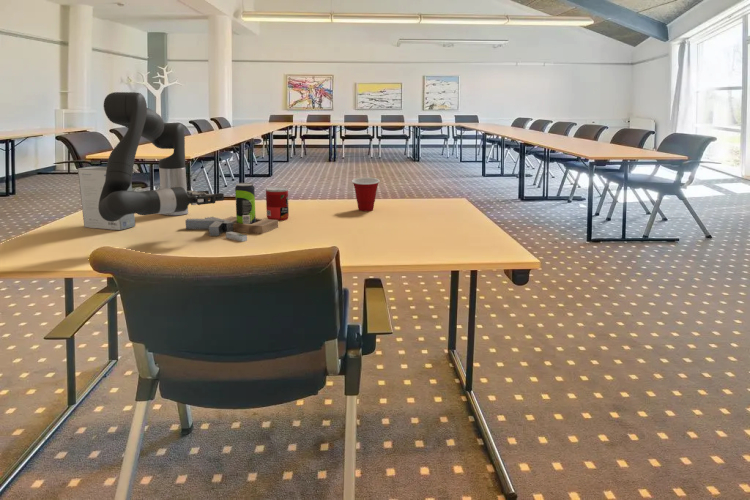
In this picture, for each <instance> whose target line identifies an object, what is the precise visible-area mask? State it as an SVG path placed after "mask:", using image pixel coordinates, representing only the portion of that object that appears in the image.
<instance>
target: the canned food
mask: <svg viewBox="0 0 750 500" xmlns="http://www.w3.org/2000/svg"><path fill="white" fill-rule="evenodd" d="M265 200H266V201H265V203H266V205H265V207H266V209H265V210H266V219H271V220H278V222H279V221H285V220H288V219H289V217H290V216H289V214H290V213H289V189H288V188H287V187H284V186H283V187H280V186H274V187H273V186H272V187H266V189H265Z"/></svg>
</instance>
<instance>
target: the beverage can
mask: <svg viewBox="0 0 750 500" xmlns="http://www.w3.org/2000/svg"><path fill="white" fill-rule="evenodd" d="M234 191H235V194H234V195H235V212H236V215H235V217H237V223H241V224H253V223H256V218H257V216H256V198H255V196H256V195H255V185H254V183H252V182H238V183H236V184H235V188H234Z"/></svg>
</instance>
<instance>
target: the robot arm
mask: <svg viewBox="0 0 750 500" xmlns="http://www.w3.org/2000/svg"><path fill="white" fill-rule="evenodd" d="M103 110H104V113H105V116H106V118H107V119H108V120H109V121H110V122H111V123H113V124H116V125H119V126H121V127H125V128H127V131H126V133H125V134H124V135H123V137H122V138H121V139H120V141H119V142H118V143H117V145H116V146H114V148H113V149H112V150H111V151H110V154H109V156H108V158H107V164H106V167H107V170H106V179H105V183H104V186H103V189H102V192H101V196H100V199H99V205H98V209H99V213H100V215H101V217H102V218H103V219H105V220H107V221H111V222H112V221H117V220H119V219H120V218H122V217H123V216H125V215H128V214H134V215H135V214H136V215H139V216H149V215H157V214H158V215H159V214H160V215H163V216H182V215H187V214H188V213H189V205H191V206H196V205H198V206H200V205H208V204H216V202H219V201H220V202H222V201H224V200H225V195H224V193H222V192H221V193H210V192H209V190H199V191H197V190H191V189H190V190H188V188H187V187H188V185H187V175H186V148H185V146H186V145H185V144H186V141H185V139H186V137H185V129H184V126H183V125H182V124H181V123H178V122H176V123H175V122H171V123H170V122H164V120H163V118H162V116H161V115H160V114H159V113H158V112H156V111H155V110H153V109H151V108H149V107H148V105H147V100H146V98H145V96H144V95H143V94H142V93H140V92H132V91H130V92H129V91H128V92H126V91H125V92H123V91H121V92H118V91H116V92H110V93H109V94H107V95H106V96H105V98H104V100H103ZM141 138H144V139H146V140H147V141H149V142H151V144H152V145H153V146H154V147H156V149H157V148H158V149H162V150H173V153H171V155H169V156H167V157H163V158H161V159H160V160H159V161H158V169H159V183H160V184H159V185H160V187H159V188H158V189H157V188H156V189H153V190H142V191H136V190H132V191H127V190H128V188H129V187H130V185H131V184H132V181H133V173H134V165H135V159H136V154H137V151H138V147H139V145H140V141H141Z"/></svg>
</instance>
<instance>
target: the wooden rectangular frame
mask: <svg viewBox="0 0 750 500" xmlns="http://www.w3.org/2000/svg"><path fill="white" fill-rule="evenodd" d="M223 219H224V220H228V221H232V222H234V224H233V231H232V232H235V233H250V234H260V235H263V234H266V233H268V232H270V231H273V230H276V229H277V228H279V221H278V220H271V219H268V218H257V217H256V223H253V224H241V223H237V216H234V215H233V216H232V215H231V216H228V217H225V218H223Z"/></svg>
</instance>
